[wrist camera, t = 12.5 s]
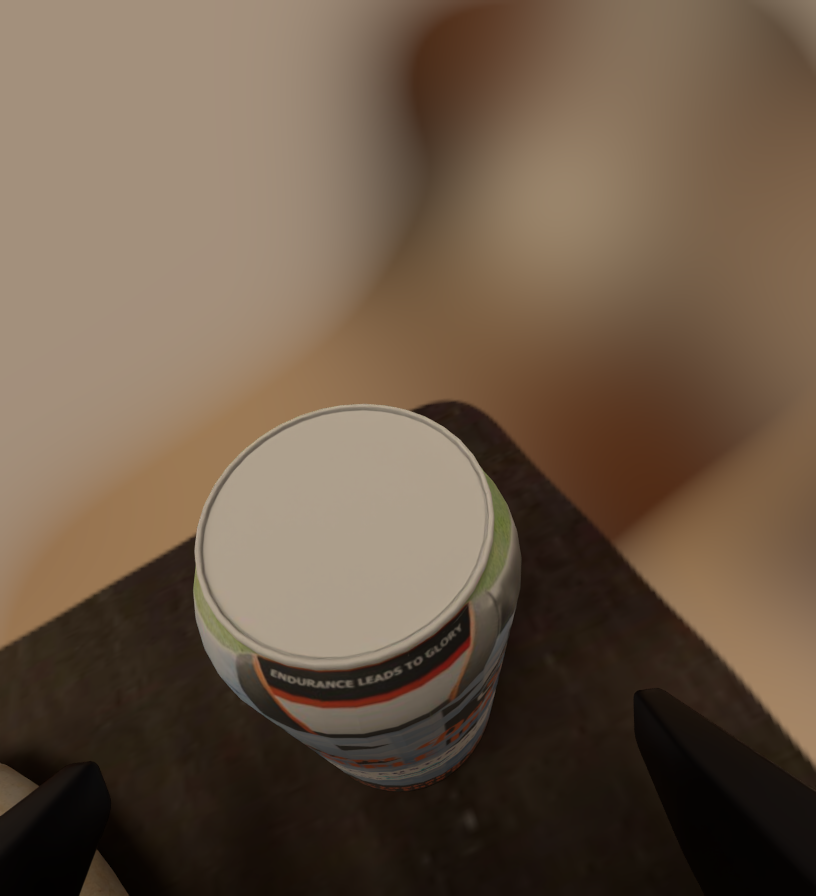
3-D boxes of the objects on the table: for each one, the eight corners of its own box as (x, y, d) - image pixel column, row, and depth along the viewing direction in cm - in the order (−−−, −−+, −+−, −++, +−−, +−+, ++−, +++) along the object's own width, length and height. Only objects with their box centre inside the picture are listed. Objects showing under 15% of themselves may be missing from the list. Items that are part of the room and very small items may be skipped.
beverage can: (319, 796, 16) (57, 908, 6) (318, 571, 20) (162, 389, 9) (514, 776, 16) (617, 852, 5) (476, 553, 19) (495, 345, 9)
